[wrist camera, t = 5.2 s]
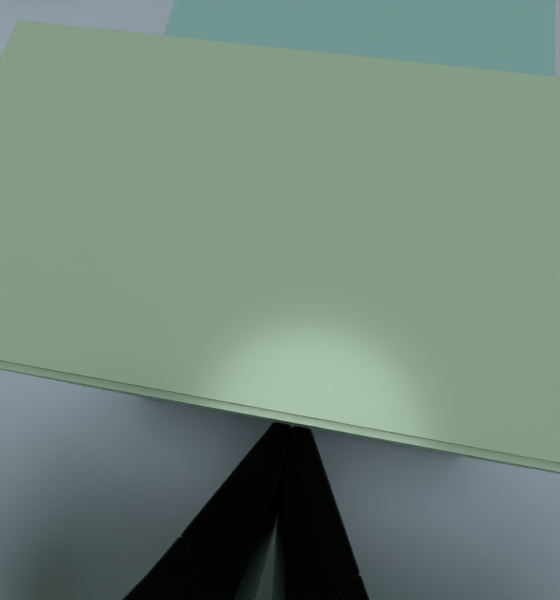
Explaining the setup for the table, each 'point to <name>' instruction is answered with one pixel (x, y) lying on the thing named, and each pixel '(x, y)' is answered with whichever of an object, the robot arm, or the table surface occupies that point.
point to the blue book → (385, 29)
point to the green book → (286, 236)
